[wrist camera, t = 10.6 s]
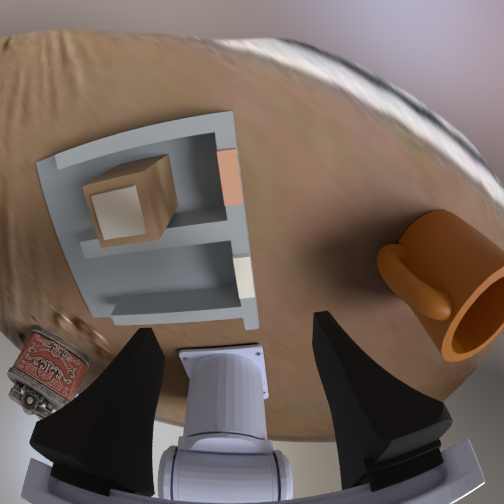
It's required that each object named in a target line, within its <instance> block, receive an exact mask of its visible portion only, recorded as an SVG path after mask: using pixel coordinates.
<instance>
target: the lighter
mask: <svg viewBox="0 0 504 504" xmlns="http://www.w3.org/2000/svg"><path fill="white" fill-rule="evenodd" d="M90 363H91V360H90V358H89V356H88V355H87V354H85V353H84V352H83V351H81V350H80V349H78V348H77V347H75V346H74V345H72V344H71V343H69V342H68V341H66V340H65V339H63V338H62V337H60V336H58V335H56V334H55V333H53V332H51V331H49V330H47V329H45V328H43V327H42V326H39V325H38V326H35V328H34V329H33V331H32V335H31V337H30V338H29V340H28V341H27V343H26V345H25V346H24V348H23V350H22V351H21V353H20V355H19V356H18V358H17V360H16V362H15V363H14V365H13V367H11V368H10V369H9V371H8V373H7V375H8V377H9V378H10V380H11V381H12V382H13V383H14V384H15V385H14V387H13V388H11V390H10V393H9V397H10V398H11V399H12V400H13V401H15V402H16V403H18V404H19V405H21V406H22V407H23V410H24V412H25V413H27V414H28V415H33V414H35V415H36V416H38V418H39V419H40V420H41V419H43V418H45V417H47V416H49V415H51V414H53V413H52V410H53V409H54V410H56V411H57V410H59V409H61V408H62V407H64V406H65V405H66V404H68V403H69V402H71V401H72V400H73V399H74V398H75V396H76V394H77V391H78V389H79V386H80V384H81V381H82V379H83V376H84V374H85V371H86V370H87V369H88V368H89V366H90ZM21 389H22V390H23V391H24V393H23V394H21V393H20V392H21ZM42 404H45V405H46V409H45V408H44V407H42V406H40V405H42Z"/></svg>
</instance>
